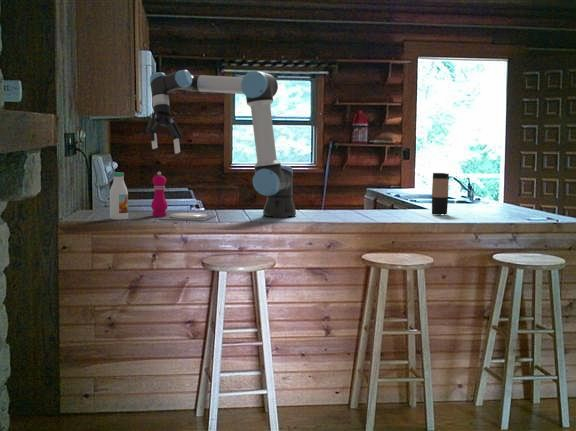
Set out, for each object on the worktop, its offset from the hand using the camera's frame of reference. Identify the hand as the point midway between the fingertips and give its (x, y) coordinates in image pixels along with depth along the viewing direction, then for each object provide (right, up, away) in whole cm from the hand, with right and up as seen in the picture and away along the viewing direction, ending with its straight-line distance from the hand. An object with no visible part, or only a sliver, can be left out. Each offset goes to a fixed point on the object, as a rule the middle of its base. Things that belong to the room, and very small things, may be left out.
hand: (166, 150), depth 322 cm
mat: (+11, -30, -6) cm, 33 cm away
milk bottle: (-18, -31, -14) cm, 38 cm away
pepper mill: (-3, -30, +1) cm, 30 cm away
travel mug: (+128, -29, +25) cm, 133 cm away
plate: (+11, -30, -6) cm, 33 cm away
